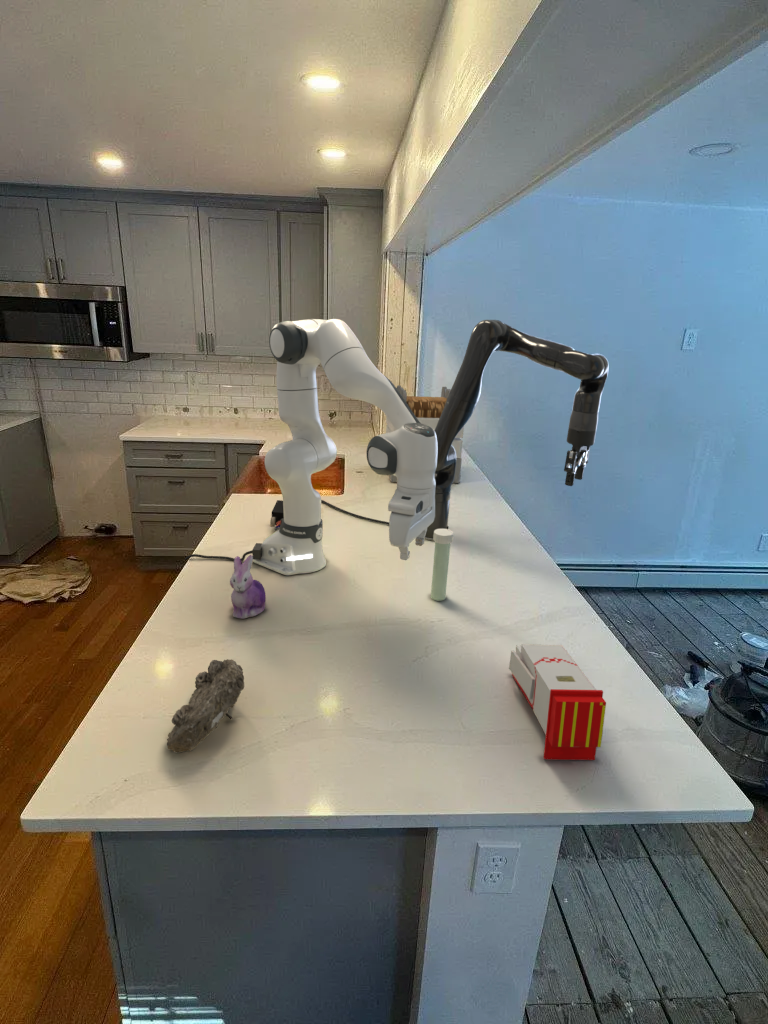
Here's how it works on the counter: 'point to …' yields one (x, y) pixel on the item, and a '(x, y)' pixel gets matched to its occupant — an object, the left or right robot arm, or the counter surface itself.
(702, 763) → the counter surface
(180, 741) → the fossil
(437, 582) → the pale green cylinder
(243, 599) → the figurine
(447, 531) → the lid
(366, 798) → the counter surface
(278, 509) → the figurine character
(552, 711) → the toy
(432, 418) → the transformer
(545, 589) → the counter surface
